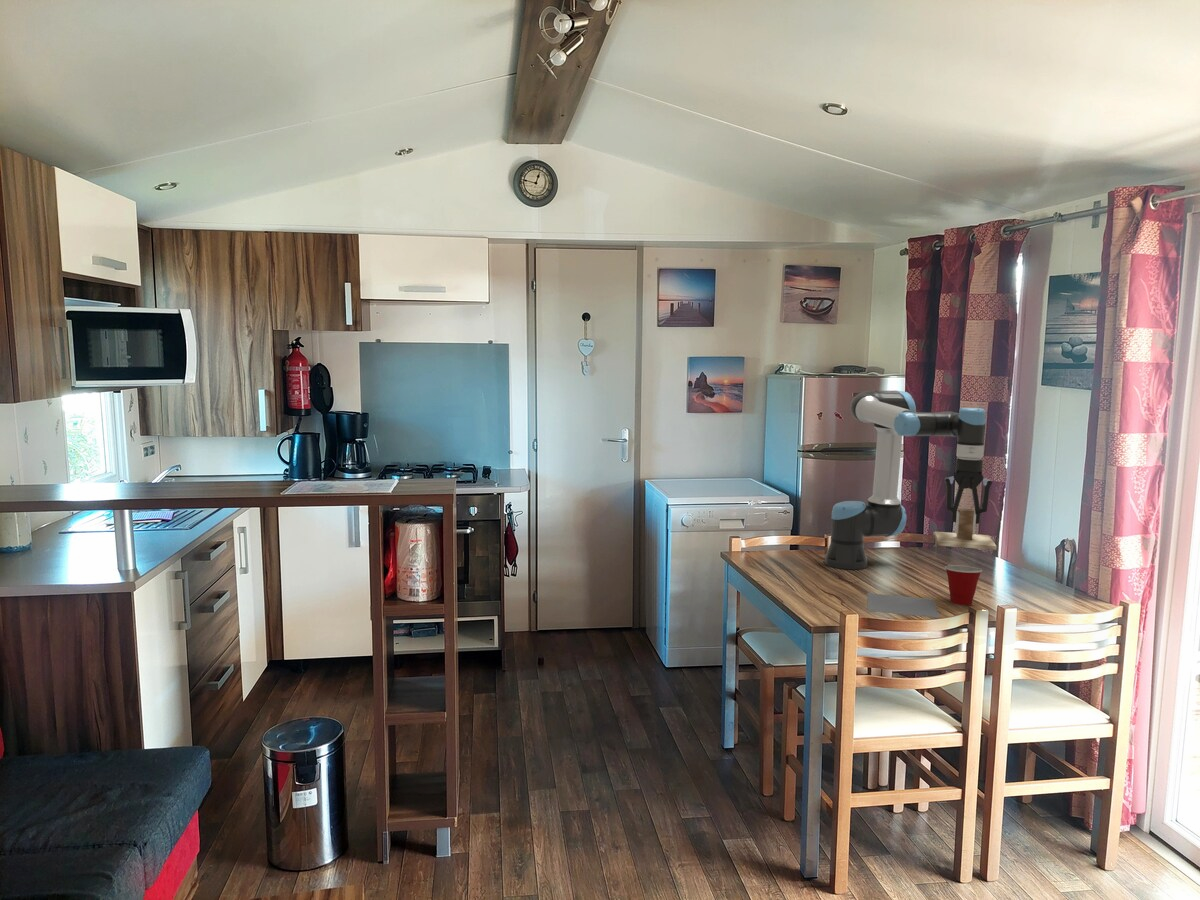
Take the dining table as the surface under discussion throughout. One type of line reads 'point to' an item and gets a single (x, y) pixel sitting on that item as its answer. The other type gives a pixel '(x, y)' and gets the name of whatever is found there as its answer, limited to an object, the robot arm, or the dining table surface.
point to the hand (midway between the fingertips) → (964, 533)
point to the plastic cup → (962, 583)
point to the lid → (965, 534)
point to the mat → (902, 605)
